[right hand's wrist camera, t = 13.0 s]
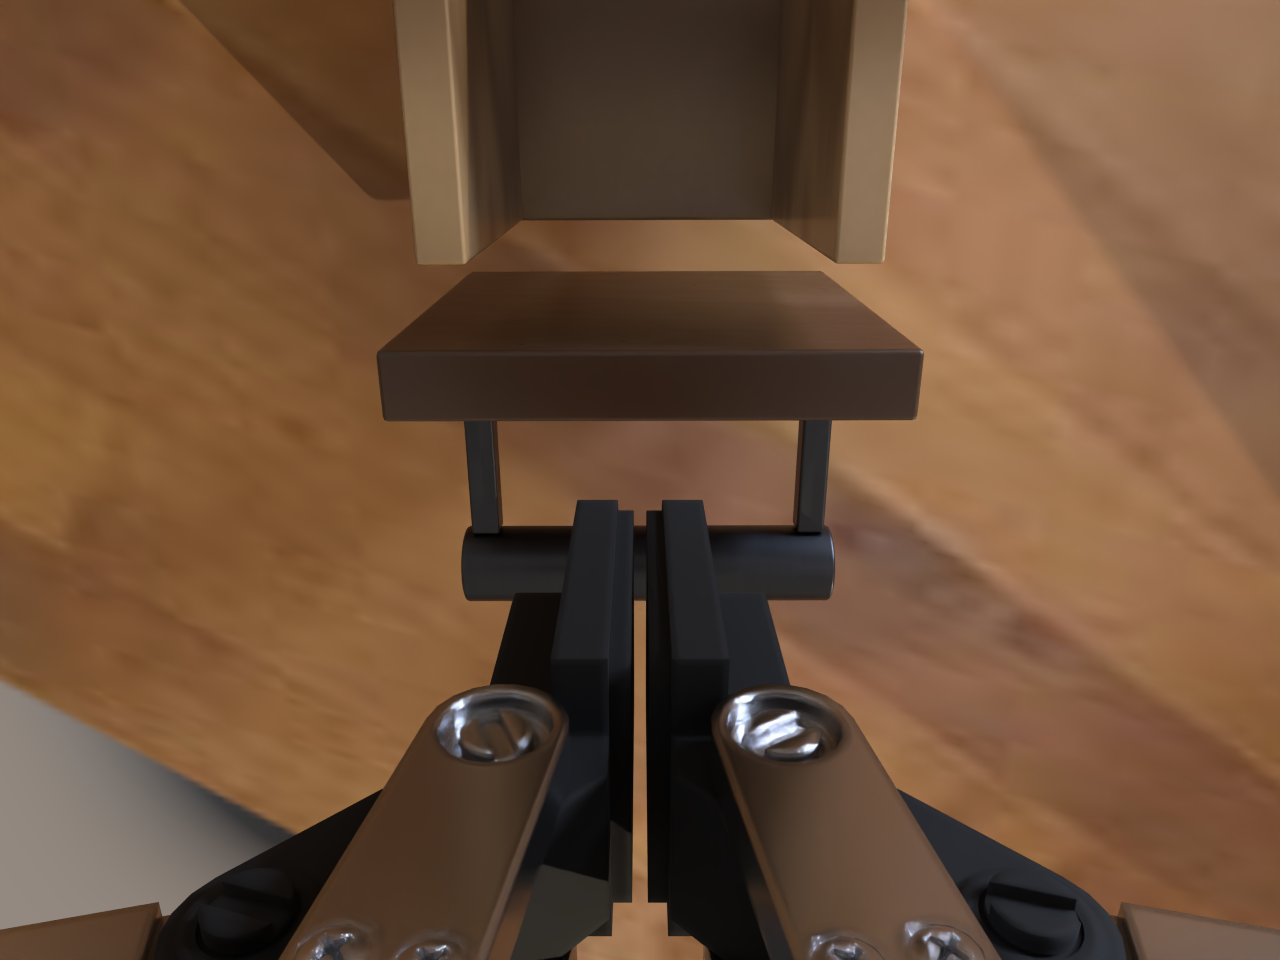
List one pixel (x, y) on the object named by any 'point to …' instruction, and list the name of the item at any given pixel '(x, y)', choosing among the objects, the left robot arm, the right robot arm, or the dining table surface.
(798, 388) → the drawer
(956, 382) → the dining table surface
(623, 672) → the right robot arm
